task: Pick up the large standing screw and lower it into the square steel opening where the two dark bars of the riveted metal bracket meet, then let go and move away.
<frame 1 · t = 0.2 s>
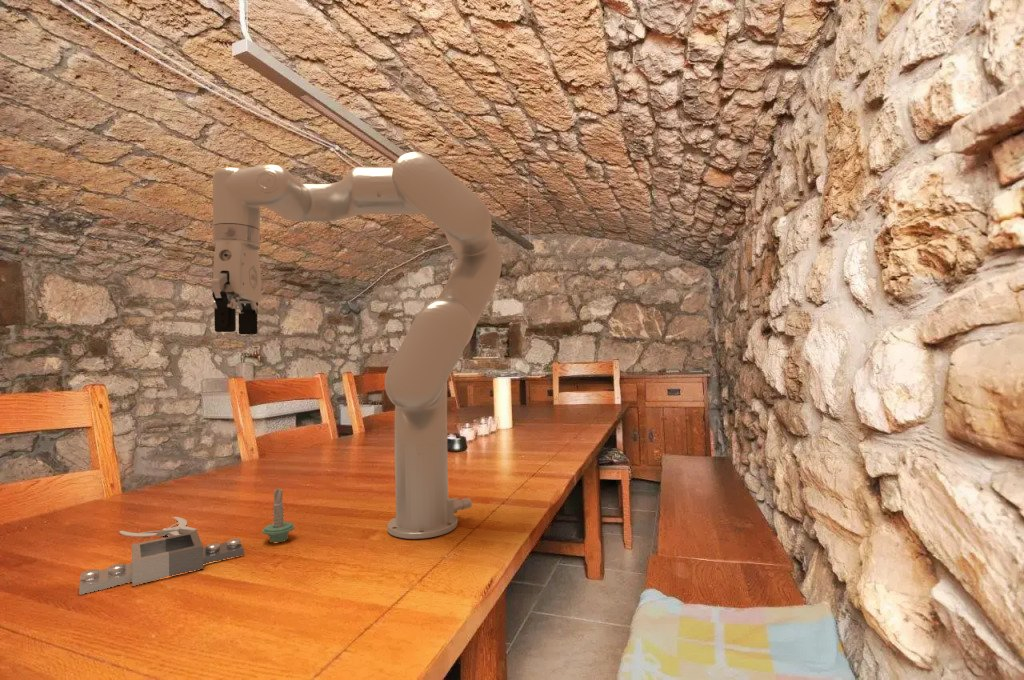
hand: (237, 333, 90), 36 cm above the table, tool pointing down, fingers open, 9 cm apart
pliers: (166, 535, 92), on the table
riveted metal bracket: (167, 568, 76), on the table
screw: (278, 541, 87), on the table
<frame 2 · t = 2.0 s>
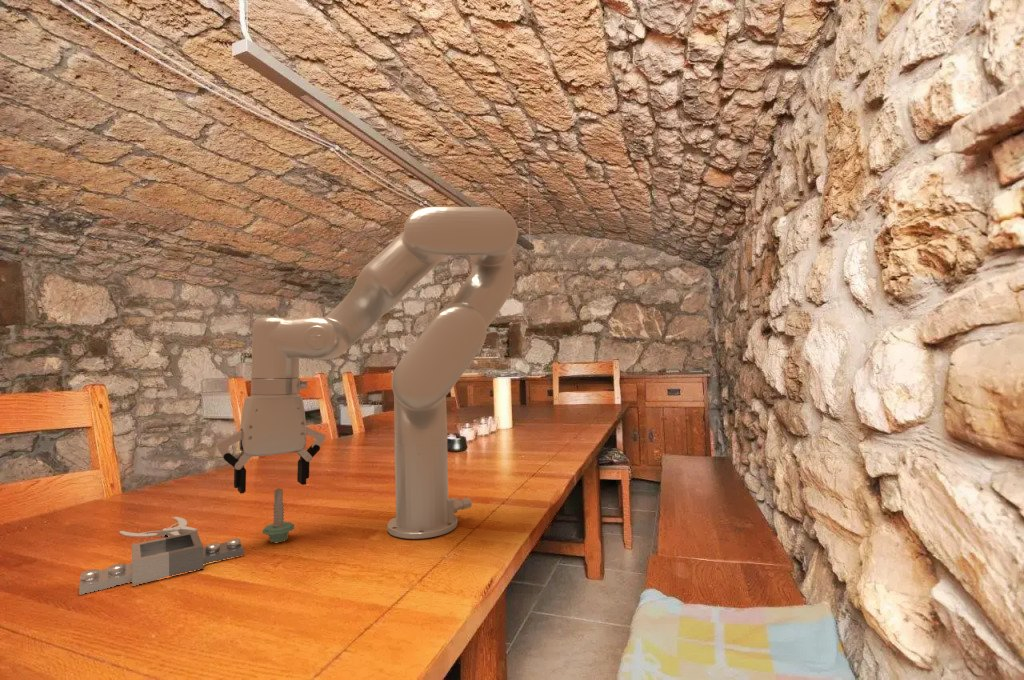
hand: (272, 487, 87), 9 cm above the table, tool pointing down, fingers open, 9 cm apart
nothing on the table moved.
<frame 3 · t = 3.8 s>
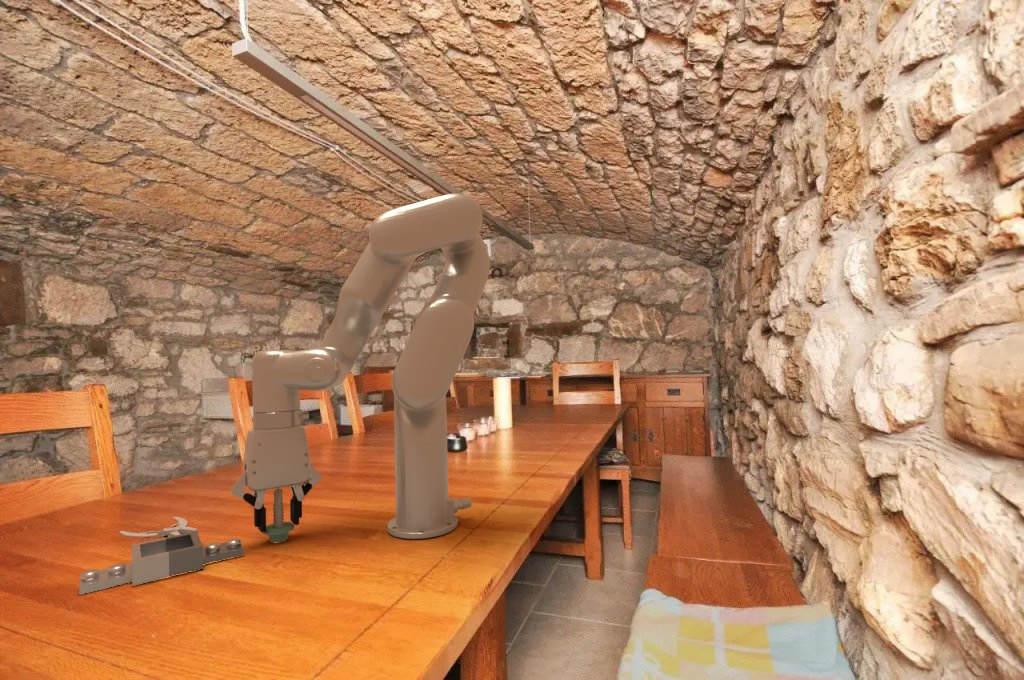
hand: (278, 525, 87), 3 cm above the table, tool pointing down, fingers closed on screw, 4 cm apart
screw: (278, 541, 87), on the table, touching gripper
everything else where it was.
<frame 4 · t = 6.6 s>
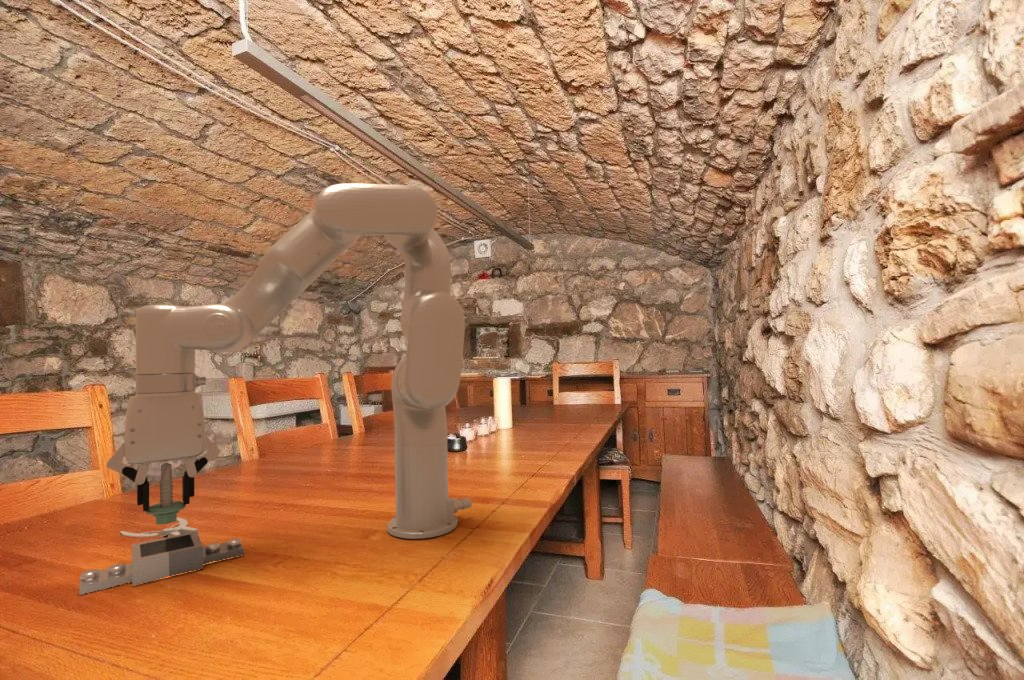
hand: (166, 504, 76), 10 cm above the table, tool pointing down, fingers closed on screw, 4 cm apart
screw: (166, 523, 76), point 7 cm above the table, touching gripper
everything else where it was.
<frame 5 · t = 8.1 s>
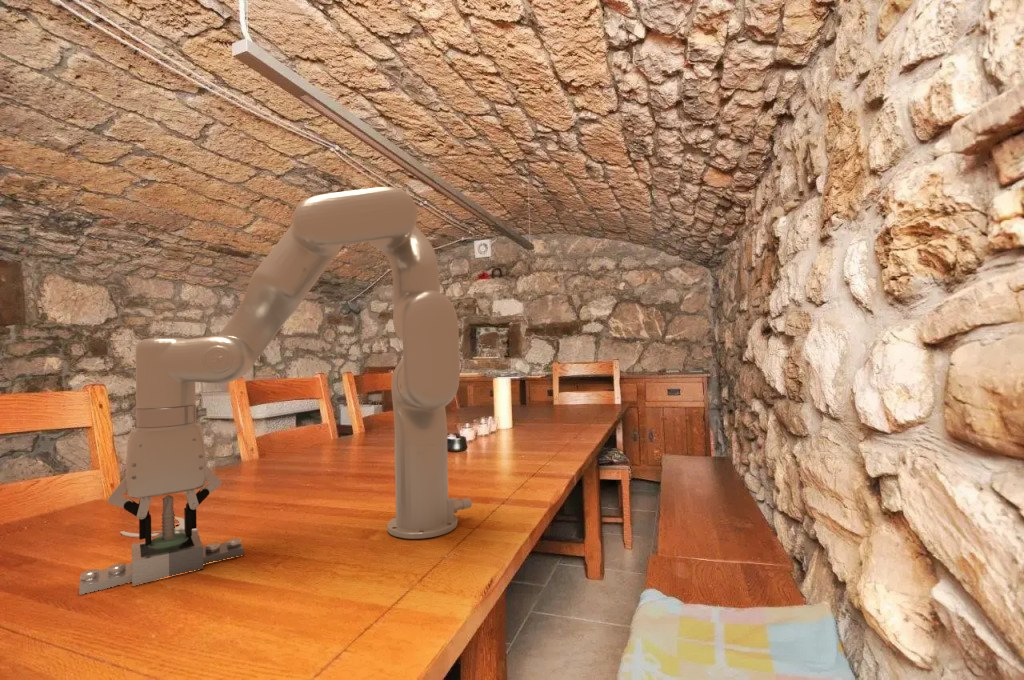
hand: (168, 537, 76), 5 cm above the table, tool pointing down, fingers closed on screw, 4 cm apart
screw: (168, 556, 76), point 2 cm above the table, touching gripper
everything else where it was.
when the fingers open (5 cm above the table, at t = 8.7 s): screw drops 2 cm, resting in riveted metal bracket.
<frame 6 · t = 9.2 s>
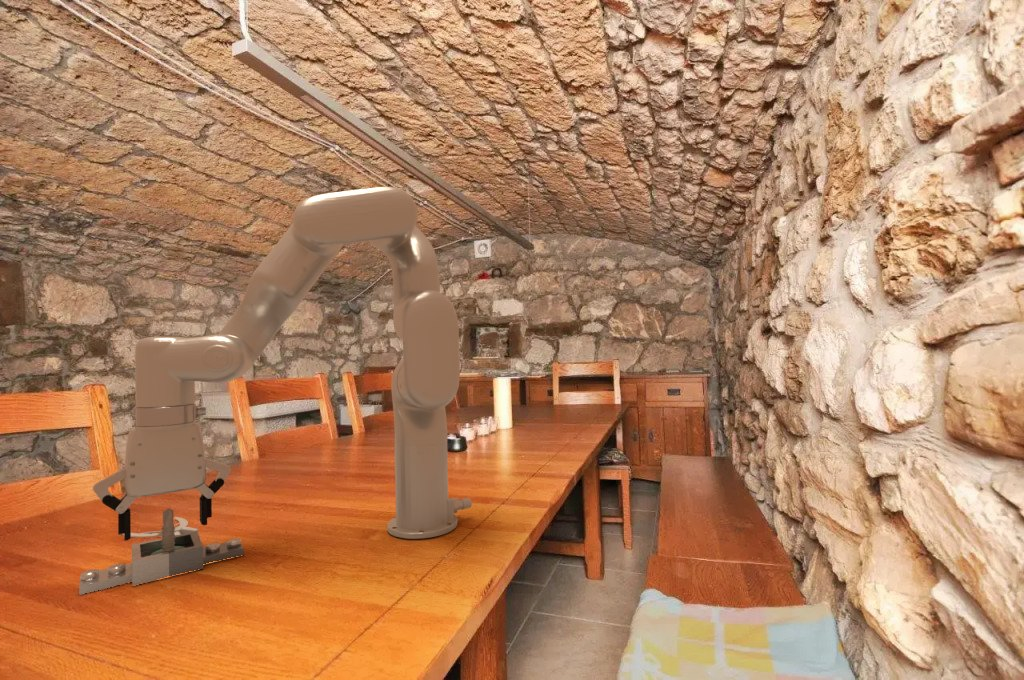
hand: (166, 530, 76), 6 cm above the table, tool pointing down, fingers open, 9 cm apart
screw: (168, 569, 76), resting in riveted metal bracket
everything else where it was.
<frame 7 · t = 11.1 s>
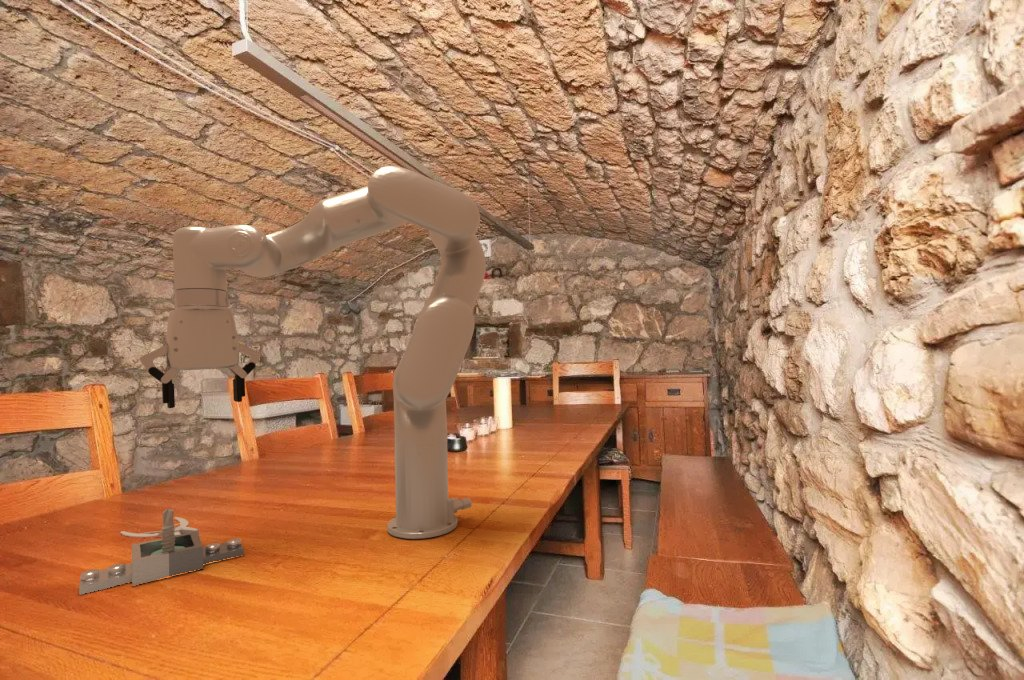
hand: (205, 404, 84), 24 cm above the table, tool pointing down, fingers open, 9 cm apart
nothing on the table moved.
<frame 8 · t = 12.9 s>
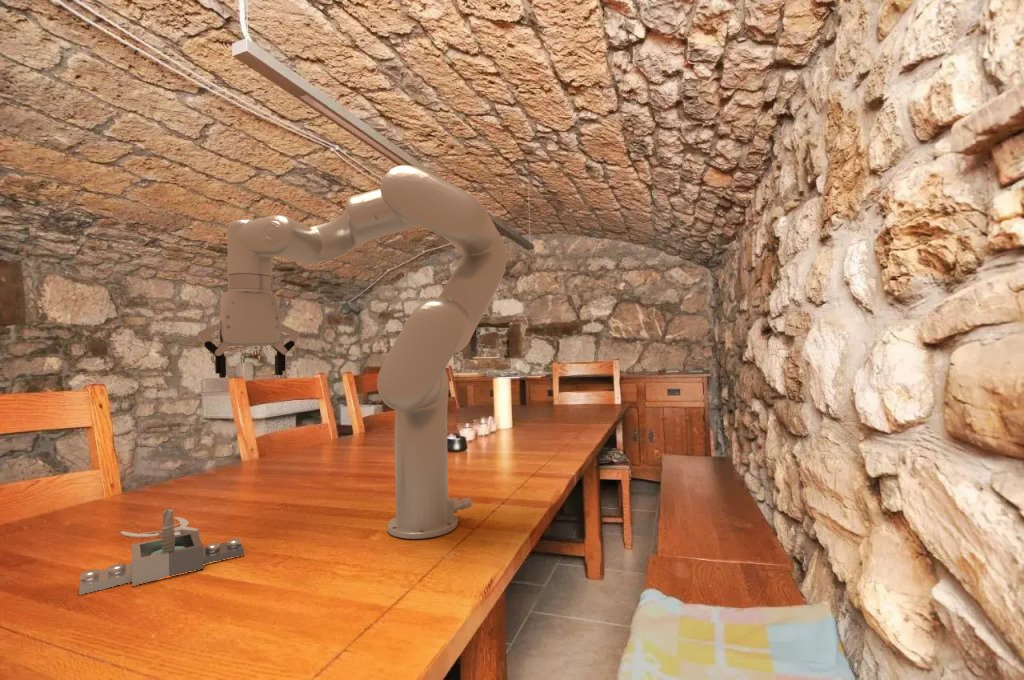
hand: (251, 376, 95), 28 cm above the table, tool pointing down, fingers open, 9 cm apart
nothing on the table moved.
at the end: screw 0.2 cm off-centre on the riveted metal bracket, point 0.0 cm above the riveted metal bracket's base; the gripper is holding nothing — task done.
